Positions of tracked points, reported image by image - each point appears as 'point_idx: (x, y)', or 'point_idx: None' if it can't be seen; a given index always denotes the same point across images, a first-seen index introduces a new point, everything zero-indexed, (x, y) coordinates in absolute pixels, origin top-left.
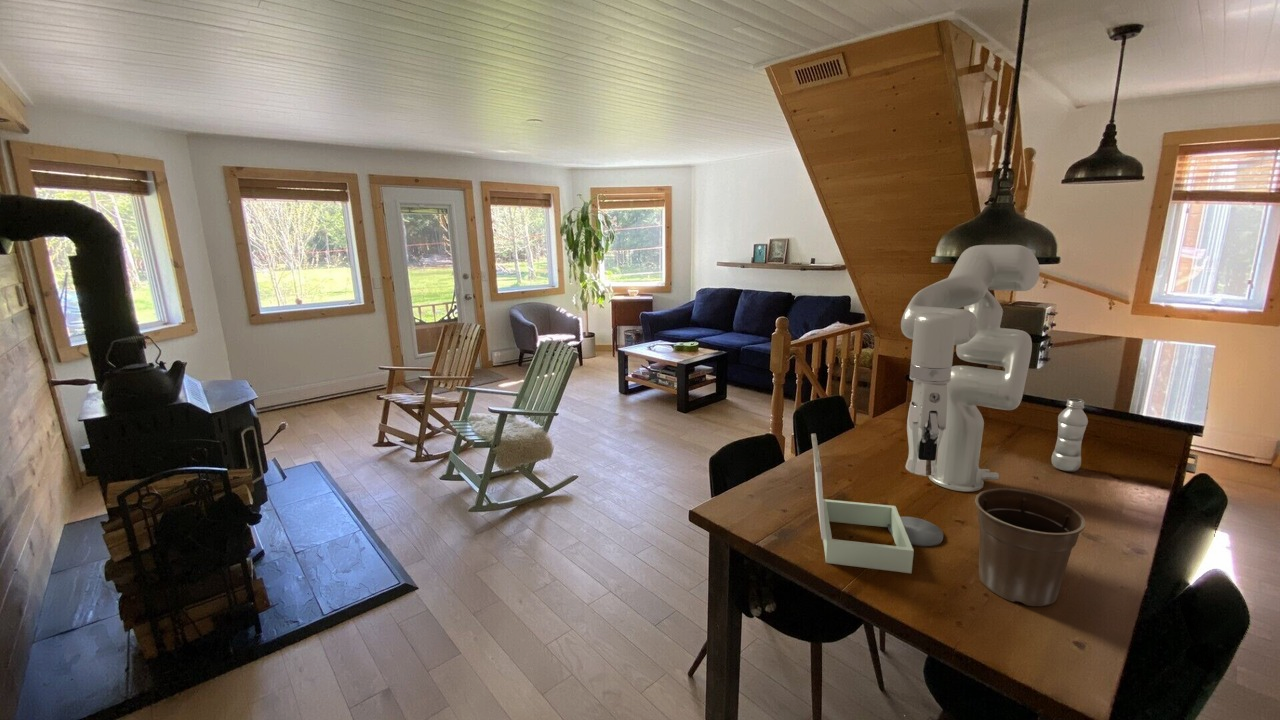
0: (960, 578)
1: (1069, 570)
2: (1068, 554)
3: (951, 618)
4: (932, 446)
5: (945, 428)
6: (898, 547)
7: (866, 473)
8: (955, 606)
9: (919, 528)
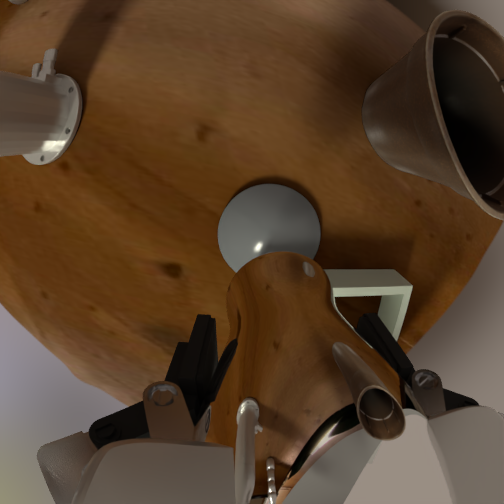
0: (401, 199)
1: (343, 25)
2: (487, 81)
3: (463, 242)
4: (413, 373)
5: (489, 407)
6: (403, 306)
7: (58, 274)
8: (449, 230)
9: (264, 226)
